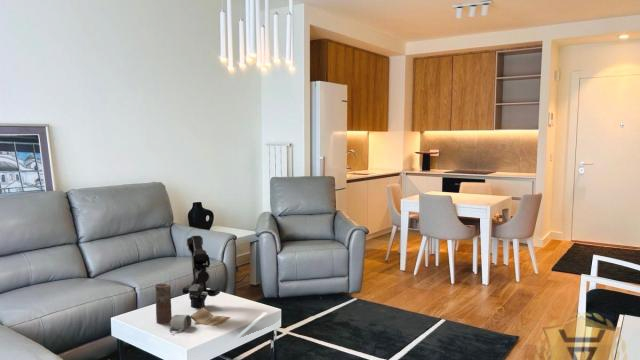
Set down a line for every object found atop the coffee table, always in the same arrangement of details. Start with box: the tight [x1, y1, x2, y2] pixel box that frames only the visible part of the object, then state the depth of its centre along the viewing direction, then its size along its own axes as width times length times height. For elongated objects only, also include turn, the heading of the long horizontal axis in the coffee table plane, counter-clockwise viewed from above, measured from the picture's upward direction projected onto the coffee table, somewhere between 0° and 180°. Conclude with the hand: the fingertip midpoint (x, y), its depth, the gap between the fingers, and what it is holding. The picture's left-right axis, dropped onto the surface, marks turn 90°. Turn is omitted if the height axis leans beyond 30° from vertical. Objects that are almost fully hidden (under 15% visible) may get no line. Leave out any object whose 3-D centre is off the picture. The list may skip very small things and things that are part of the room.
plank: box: [190, 307, 215, 325], centre depth 241 cm, size 7×12×1 cm
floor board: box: [202, 315, 232, 327], centre depth 239 cm, size 9×13×1 cm
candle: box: [154, 283, 173, 325], centre depth 238 cm, size 8×7×20 cm
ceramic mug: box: [169, 314, 193, 336], centre depth 228 cm, size 11×8×8 cm
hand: (201, 307), depth 244 cm, fingers closed
